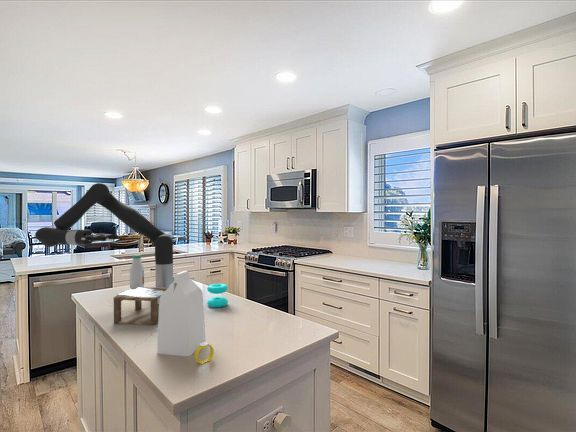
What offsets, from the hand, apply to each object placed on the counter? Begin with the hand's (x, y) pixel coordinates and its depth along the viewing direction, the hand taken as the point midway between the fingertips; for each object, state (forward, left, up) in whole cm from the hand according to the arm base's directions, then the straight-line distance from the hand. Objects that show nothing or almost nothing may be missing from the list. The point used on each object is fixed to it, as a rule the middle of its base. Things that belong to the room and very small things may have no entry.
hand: (111, 237), depth 155 cm
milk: (-9, +64, -34) cm, 73 cm away
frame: (-9, +23, -34) cm, 42 cm away
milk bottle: (-21, -35, -34) cm, 53 cm away
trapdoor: (-7, +21, -26) cm, 35 cm away
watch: (-10, +79, -34) cm, 86 cm away
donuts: (-42, +27, -34) cm, 60 cm away
